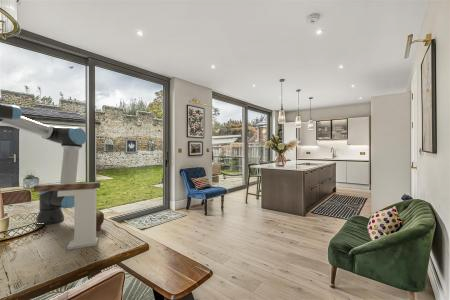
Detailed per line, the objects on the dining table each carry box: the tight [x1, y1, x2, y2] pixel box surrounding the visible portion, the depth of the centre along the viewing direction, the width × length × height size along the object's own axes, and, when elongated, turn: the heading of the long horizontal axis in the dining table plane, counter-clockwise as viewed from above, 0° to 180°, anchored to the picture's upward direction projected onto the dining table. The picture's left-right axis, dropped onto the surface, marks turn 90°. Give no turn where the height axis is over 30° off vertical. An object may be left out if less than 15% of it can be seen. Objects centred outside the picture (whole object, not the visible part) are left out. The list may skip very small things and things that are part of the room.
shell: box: [96, 210, 105, 232], centre depth 139 cm, size 11×11×12 cm
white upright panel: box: [58, 188, 99, 250], centre depth 118 cm, size 17×8×30 cm, turn 114°
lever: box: [33, 181, 101, 193], centre depth 116 cm, size 28×3×3 cm, turn 114°
